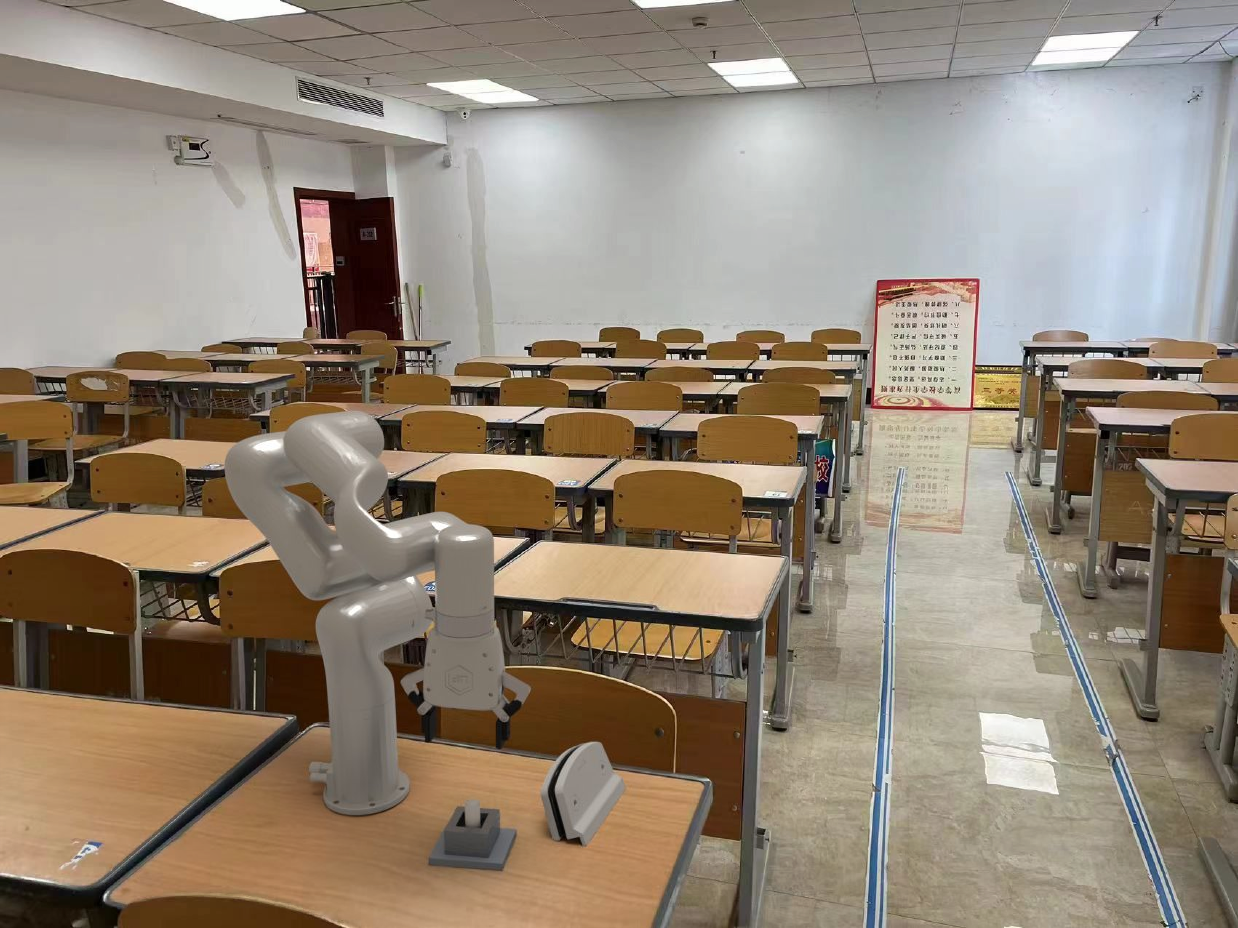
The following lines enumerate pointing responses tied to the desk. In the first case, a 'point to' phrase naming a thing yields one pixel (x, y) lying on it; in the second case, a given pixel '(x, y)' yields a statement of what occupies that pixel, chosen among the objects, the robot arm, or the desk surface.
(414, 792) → the desk surface
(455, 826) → the grey square hollow block
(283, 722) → the desk surface
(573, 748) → the grey slotted holder
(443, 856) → the keeper
